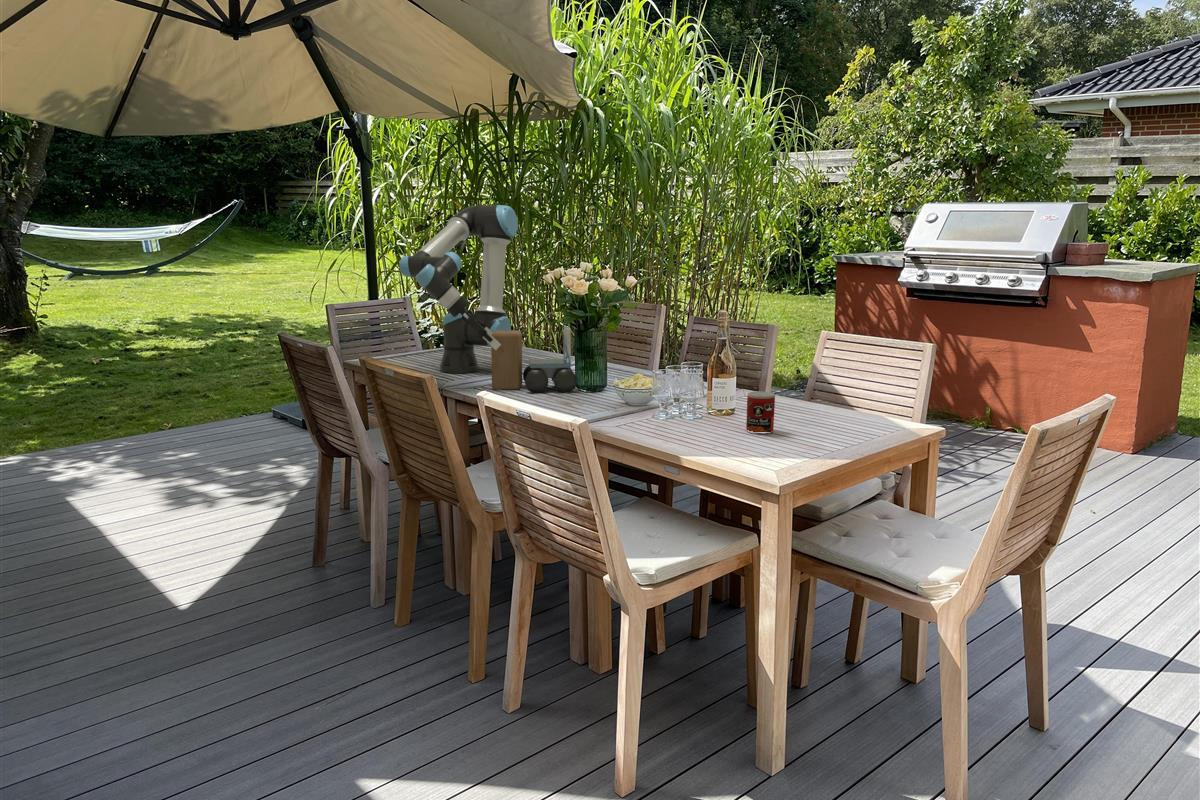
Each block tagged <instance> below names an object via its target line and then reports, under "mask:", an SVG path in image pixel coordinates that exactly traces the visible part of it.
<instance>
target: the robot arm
mask: <svg viewBox="0 0 1200 800" xmlns="http://www.w3.org/2000/svg"><path fill="white" fill-rule="evenodd" d="M518 230H519V223H518V217H517V214H516V211H515V210H514V209H513V208H512V206H509V205H502V204H493V205H491V204H489V205H488V204H487V205H483V204H482V205H479V204H476V205H471V206H468V207H465V208H463V209H462V210H460V211H458V212H457V213H456V214H454V215H453V216H451V218H450V219H448V221H447V223H446V225H445V227H443V228H442V229H441V230H440V231H439V232H438V233H437V234H435V235H434V236H433V237H432V238H431V239H430V240H429V241H427V243H425V244H424V245H423V246H422V247H421V248H420V249H419V250H418V251H416V253H414V254H413V255H404V256H402V257H401V258H400V260H399V265H398V267H399V271H400V274H401V275H402V276H404V277H406V278H407V277H408V278H413V279H414V278H415V280H416V282H417V283H418V284H419V285H420V286H421V288H422V289H424V290H425V291H426V292H427V293H428V294H429V295H430V296H431V297H432V298H433V299H435V301H436V302H438V306H439V307H440V306H442V307H443V308H444V309H445V310H446V309H447V312H448V313H446V314H445V315H444V316H443V321H442V322H443V323H442V327H443V354H442V358H441V360H440V364H439V371H440V372H442V373H445V372H448V373H447V374H471V373H475V372H476V373H477V372H479V369H480V368H479V365H480V364H479V362H478V360H477V356H476V353H475V348H474V347H475V346H478V347H479V346H481V347H491V346H492V347H493V348H494V349H495V350H496V349H497V348H498V347H499V346H500V345H501V344H500V343H499V342H498V341H497V340H496V339H495V338H494V337H493V336H492V333H493V332H494V331H496V330H511V328H512V326H511V325H512V324H511V321H510V319H509V317H507V316H506V315H507V312H506V311H505V310H504V309H503V302H504V301H503V298H504V287H505V286H504V285H505V272H506V271H505V270H506V256H507V246H508V245H509V244H510V243H511V241H512V238H513V237H514V236H516V235H517V233H518ZM474 236H477V237H478V236H479V237H480V242H482V243H483V256H482V269H481V270H482V271H481V285H480V297H479V298H480V300H479V307H478V308H476V309H475V313H474V312H473V311H472V310H471V309H469V308H467V306H468V305H469V304H470V302H469V300H467V298H465V297H464V296H463V295H461V292H460V291H459V290H458V289H456V287H454V285H453V284H451V282H450V281H451V280H452V278H454V277H455V275H457V274H458V272H459V271H460V269H461V268H462V266H463V262H462V259H461V257H460V256H459V255H458V254H457V253H456V252H454V251H451V250H452V249H453V248H454V247H455V246H456V245H458V244H459V243H460V242H461V241H465V240H466V239H468V238H469V237H474Z"/></svg>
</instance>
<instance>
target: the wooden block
mask: <svg viewBox="0 0 1200 800" xmlns="http://www.w3.org/2000/svg"><path fill="white" fill-rule="evenodd" d="M492 336H493V337H494V338H495V339H496V340H497V341H498V342H499V343H500V344H501V345H500V346H499V347H498V348H497V349H496V350H495V349H494V348H493V347H492V346H491V351H490V352H491V387H492V390H496V389H501V391H503V390H508V391H509V390H510V391H512V390H513V391H516V390H520V388H521V387H522V385H523V333H522V331H521V330H516V329H515V330H496V331H494V332H493V333H492Z"/></svg>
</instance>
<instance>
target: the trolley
mask: <svg viewBox="0 0 1200 800" xmlns="http://www.w3.org/2000/svg"><path fill="white" fill-rule="evenodd" d="M571 328H572V327H571ZM571 328H570V327H568V326H566V325H564V324H563V358H544V359H542V358H541V359H540V358H539V359H537V358H536V359H533V358H531V359H529V358H528V365H527V366H526V367H525V368H524V369H523V371H522V380H523V381H524V384H525V387H526V389H527V390H528V391H529V392H530V393H533V394H540V393H541V394H542V392H544V391H545V390H546V389H547V388H548V387H549V379H551V381H552V382H553V384H554V386H555V389H556V390H557V391H559V392H561V393H563V392H568V393H570V392H571V393H572V391H574V390H575V388H576V387H577V384H578V382H577V383H576V380H577V381H578V377H577V375H576V373H574V372H573V369H572V368H571V367H572V363H571V357H572V356H571V351H572V350H571V349H572V348H571V345H572V344H571V337H572V335H571V333H572V331H571Z"/></svg>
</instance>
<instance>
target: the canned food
mask: <svg viewBox="0 0 1200 800" xmlns="http://www.w3.org/2000/svg"><path fill="white" fill-rule="evenodd" d="M775 395H776V394H775V393H773V392H770V391H769V392H768V391H762V390H761V391H760V390H758V391H749V392H748V393H747V396H746V397H747V398H746V423H745V424H746V426H745V428H746V431H747V430H749V431H753V432H771V431H774V426H775V425H774V424H775V406H776V396H775Z"/></svg>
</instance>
